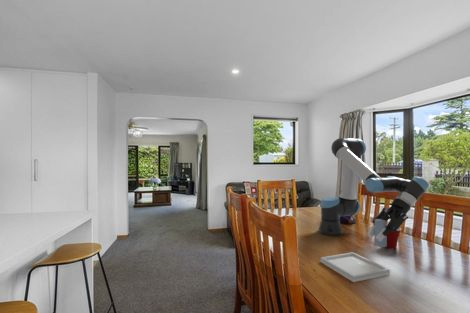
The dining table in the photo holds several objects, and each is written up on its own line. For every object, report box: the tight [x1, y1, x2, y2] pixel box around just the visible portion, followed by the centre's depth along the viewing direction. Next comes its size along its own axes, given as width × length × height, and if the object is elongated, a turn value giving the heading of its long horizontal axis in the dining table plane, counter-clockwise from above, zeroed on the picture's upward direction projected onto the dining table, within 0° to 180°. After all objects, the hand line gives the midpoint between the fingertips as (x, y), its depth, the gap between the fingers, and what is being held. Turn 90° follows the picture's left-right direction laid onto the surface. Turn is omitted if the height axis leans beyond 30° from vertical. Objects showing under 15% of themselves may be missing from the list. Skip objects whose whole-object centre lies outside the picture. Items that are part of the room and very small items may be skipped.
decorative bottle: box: [340, 189, 357, 224], centre depth 188 cm, size 22×21×25 cm
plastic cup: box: [384, 227, 403, 250], centre depth 132 cm, size 11×11×12 cm
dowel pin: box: [374, 218, 388, 248], centre depth 115 cm, size 5×5×12 cm
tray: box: [320, 251, 391, 283], centre depth 107 cm, size 20×20×2 cm
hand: (373, 237), depth 115 cm, fingers closed on dowel pin, 5 cm apart
